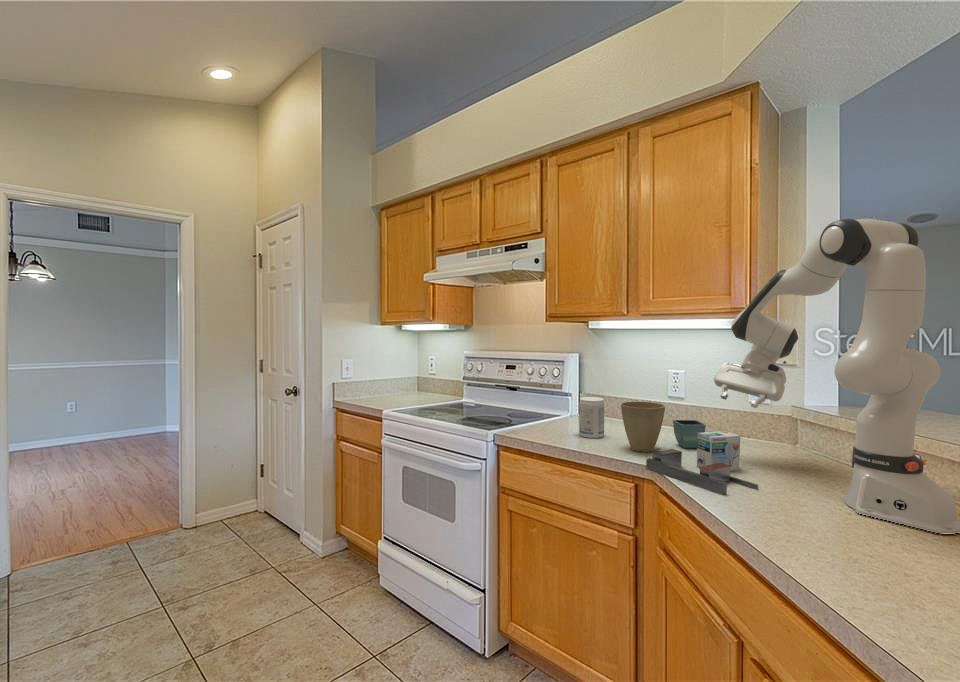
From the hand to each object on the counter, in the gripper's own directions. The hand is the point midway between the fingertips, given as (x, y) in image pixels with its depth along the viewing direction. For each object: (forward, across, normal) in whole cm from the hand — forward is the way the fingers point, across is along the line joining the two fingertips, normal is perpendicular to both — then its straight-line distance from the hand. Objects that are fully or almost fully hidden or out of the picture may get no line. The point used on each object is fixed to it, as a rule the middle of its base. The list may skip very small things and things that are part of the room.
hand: (737, 402), depth 157 cm
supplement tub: (+24, -49, +14) cm, 57 cm away
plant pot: (+23, -25, +10) cm, 36 cm away
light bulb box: (+21, +2, +6) cm, 22 cm away
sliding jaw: (+30, +7, -5) cm, 31 cm away
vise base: (+30, +3, -4) cm, 31 cm away
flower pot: (+11, -17, +22) cm, 30 cm away
